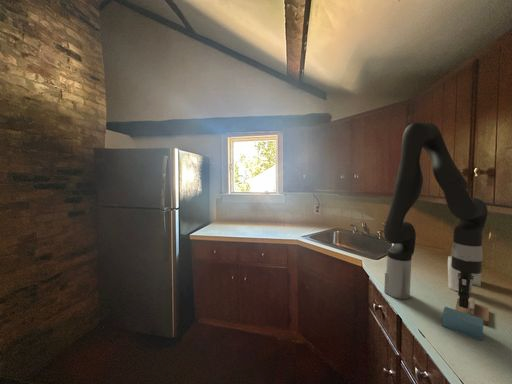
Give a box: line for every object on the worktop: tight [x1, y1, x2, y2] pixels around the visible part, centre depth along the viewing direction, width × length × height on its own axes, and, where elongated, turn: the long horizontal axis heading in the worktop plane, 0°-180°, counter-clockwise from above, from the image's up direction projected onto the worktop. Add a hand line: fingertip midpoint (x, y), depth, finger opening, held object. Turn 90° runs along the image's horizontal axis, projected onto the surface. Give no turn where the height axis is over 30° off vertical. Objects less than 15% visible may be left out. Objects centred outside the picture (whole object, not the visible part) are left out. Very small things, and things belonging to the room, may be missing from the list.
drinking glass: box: [447, 255, 461, 292], centre depth 103 cm, size 7×7×15 cm
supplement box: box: [471, 272, 482, 287], centre depth 110 cm, size 7×7×13 cm
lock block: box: [441, 306, 484, 342], centre depth 77 cm, size 10×6×5 cm, turn 44°
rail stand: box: [454, 297, 490, 326], centre depth 86 cm, size 9×12×4 cm
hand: (464, 302), depth 76 cm, fingers open, 8 cm apart
